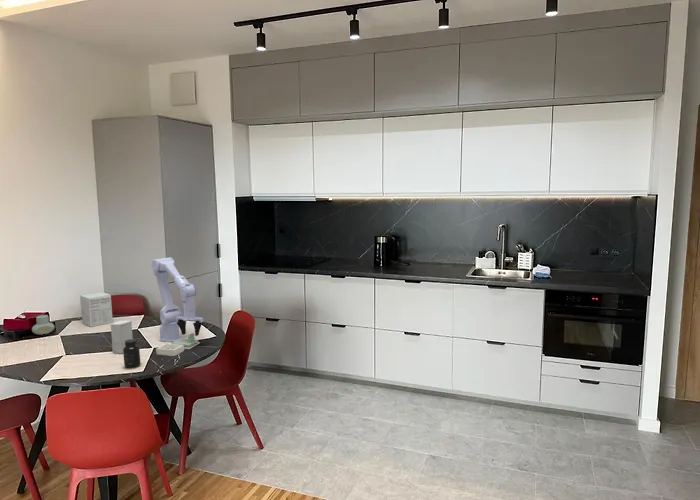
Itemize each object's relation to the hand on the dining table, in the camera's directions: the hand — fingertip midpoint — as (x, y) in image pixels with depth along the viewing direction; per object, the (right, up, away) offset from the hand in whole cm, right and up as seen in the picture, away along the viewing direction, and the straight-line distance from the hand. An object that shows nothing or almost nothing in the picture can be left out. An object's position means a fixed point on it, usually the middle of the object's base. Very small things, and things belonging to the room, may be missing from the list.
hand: (190, 334), depth 250 cm
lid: (-3, -5, +1) cm, 6 cm away
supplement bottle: (-17, -10, -28) cm, 34 cm away
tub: (-7, -7, -10) cm, 14 cm away
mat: (-4, -6, +2) cm, 7 cm away
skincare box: (-32, -7, -6) cm, 33 cm away
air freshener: (-91, -4, +26) cm, 95 cm away
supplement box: (-71, -1, +46) cm, 85 cm away
